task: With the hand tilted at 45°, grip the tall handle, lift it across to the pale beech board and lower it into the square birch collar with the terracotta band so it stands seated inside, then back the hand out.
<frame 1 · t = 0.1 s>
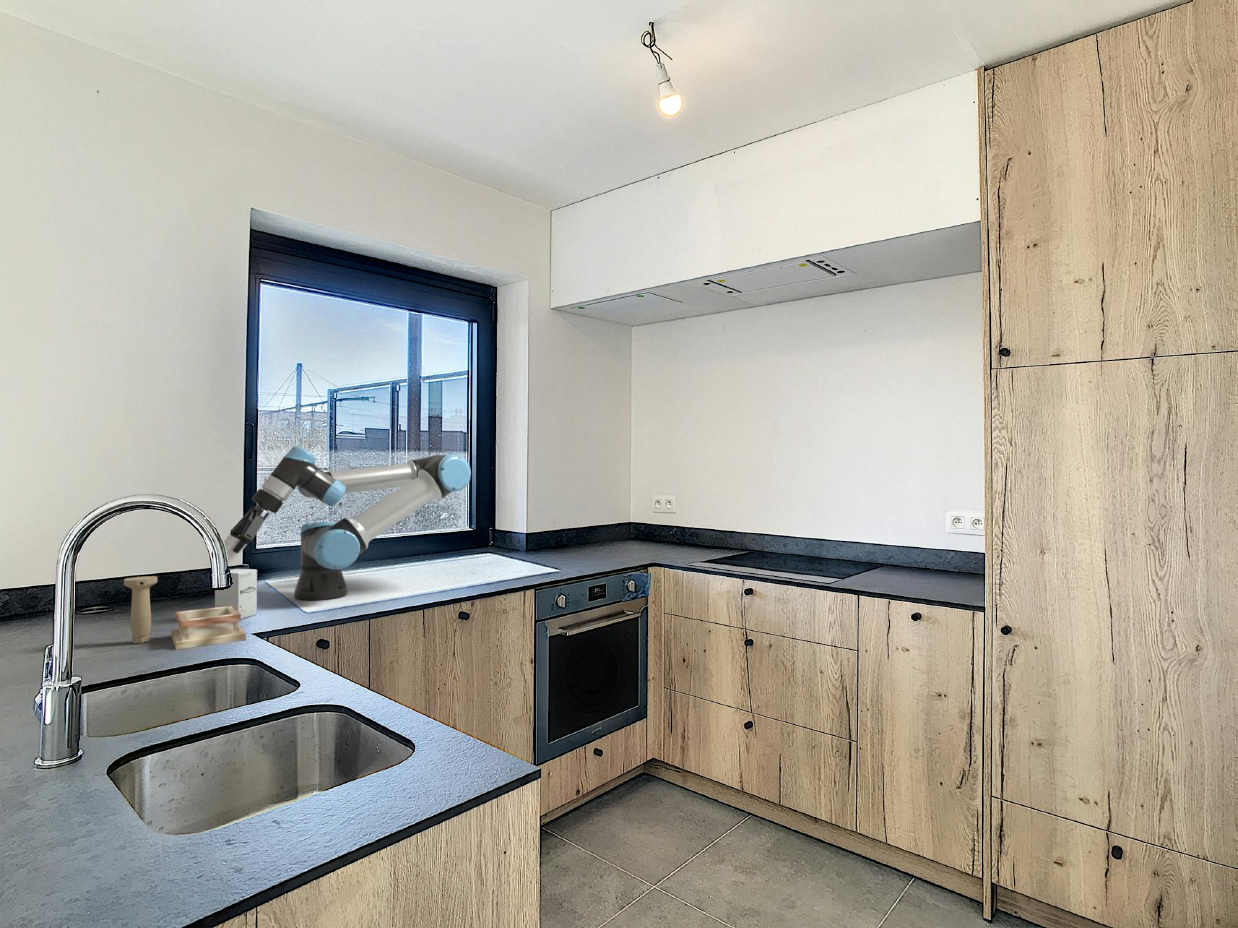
hand: (222, 559, 189), 15 cm above the counter, tool tilted 35°, fingers open, 13 cm apart
handle: (140, 643, 162), on the counter
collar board: (207, 638, 166), on the counter
supplement box: (236, 617, 188), on the counter
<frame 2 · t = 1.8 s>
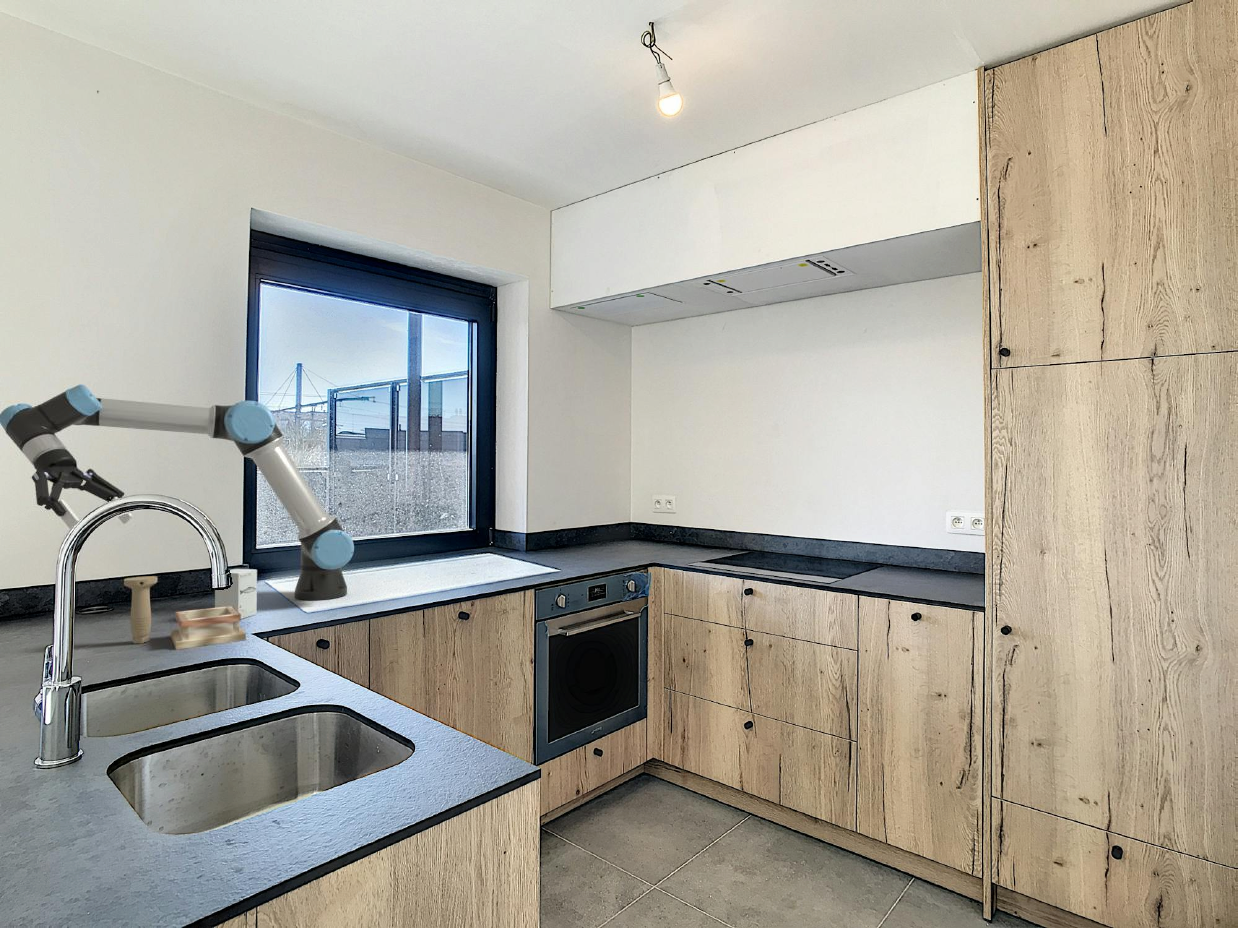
hand: (102, 522, 164), 28 cm above the counter, tool tilted 45°, fingers open, 13 cm apart
nothing on the counter moved.
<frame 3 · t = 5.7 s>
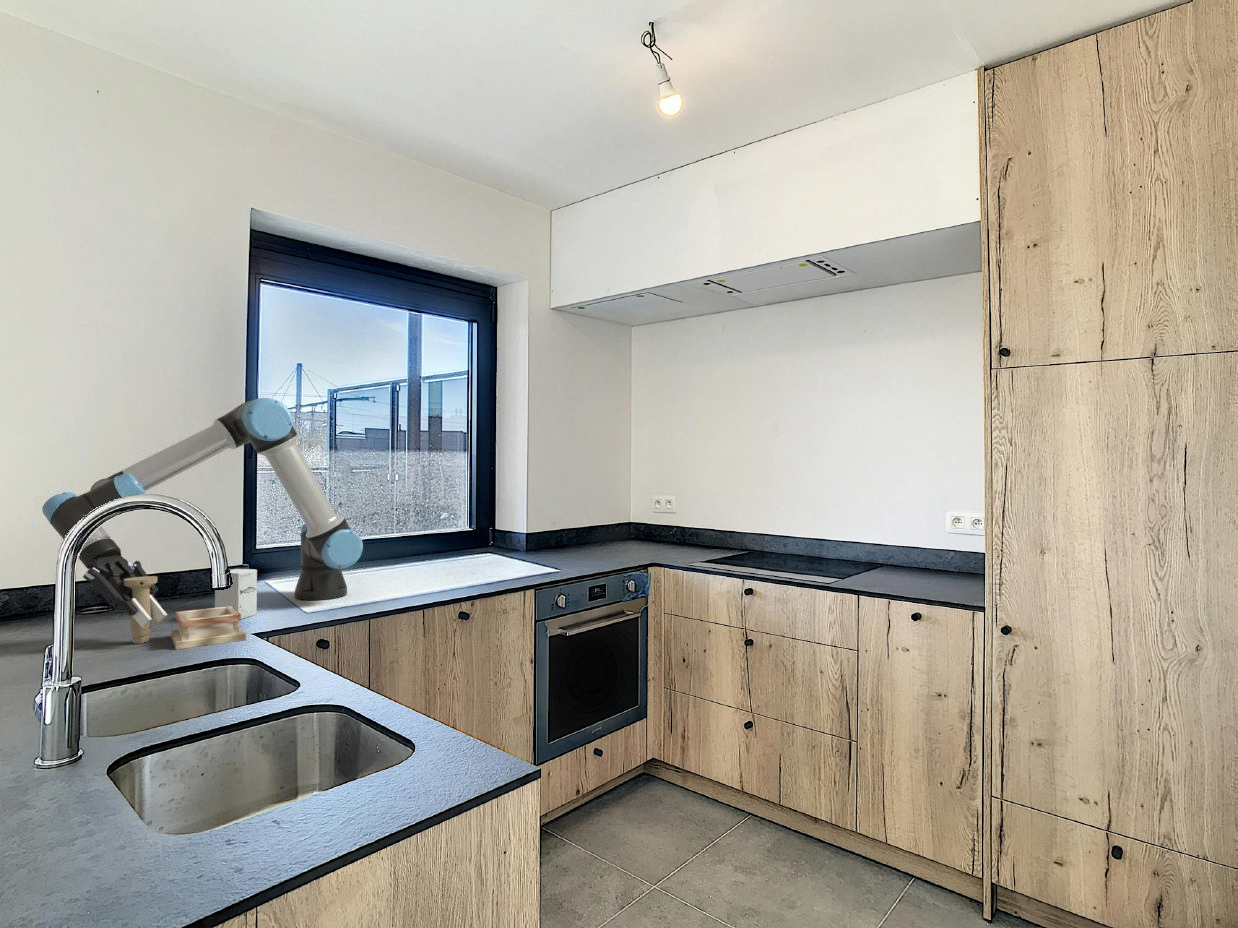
hand: (154, 620, 161), 5 cm above the counter, tool tilted 45°, fingers closed on handle, 4 cm apart
handle: (140, 643, 162), on the counter, touching gripper
everything else where it was.
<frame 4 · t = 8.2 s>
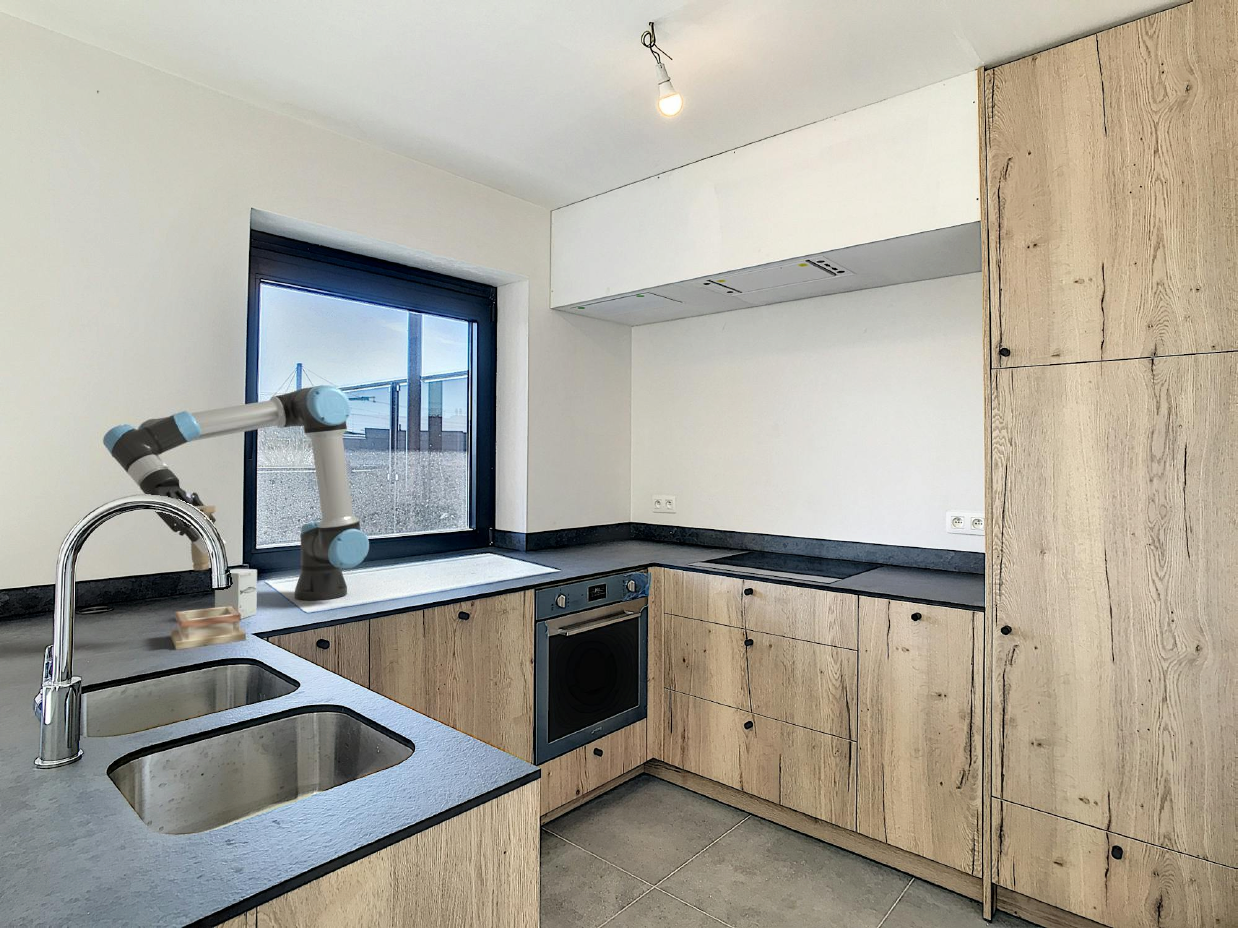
hand: (214, 548, 164), 22 cm above the counter, tool tilted 45°, fingers closed on handle, 4 cm apart
handle: (201, 570, 165), point 16 cm above the counter, touching gripper
everything else where it was.
when the fingers open (8 cm above the counter, at t = 10.7 s): handle drops 1 cm, resting on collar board.
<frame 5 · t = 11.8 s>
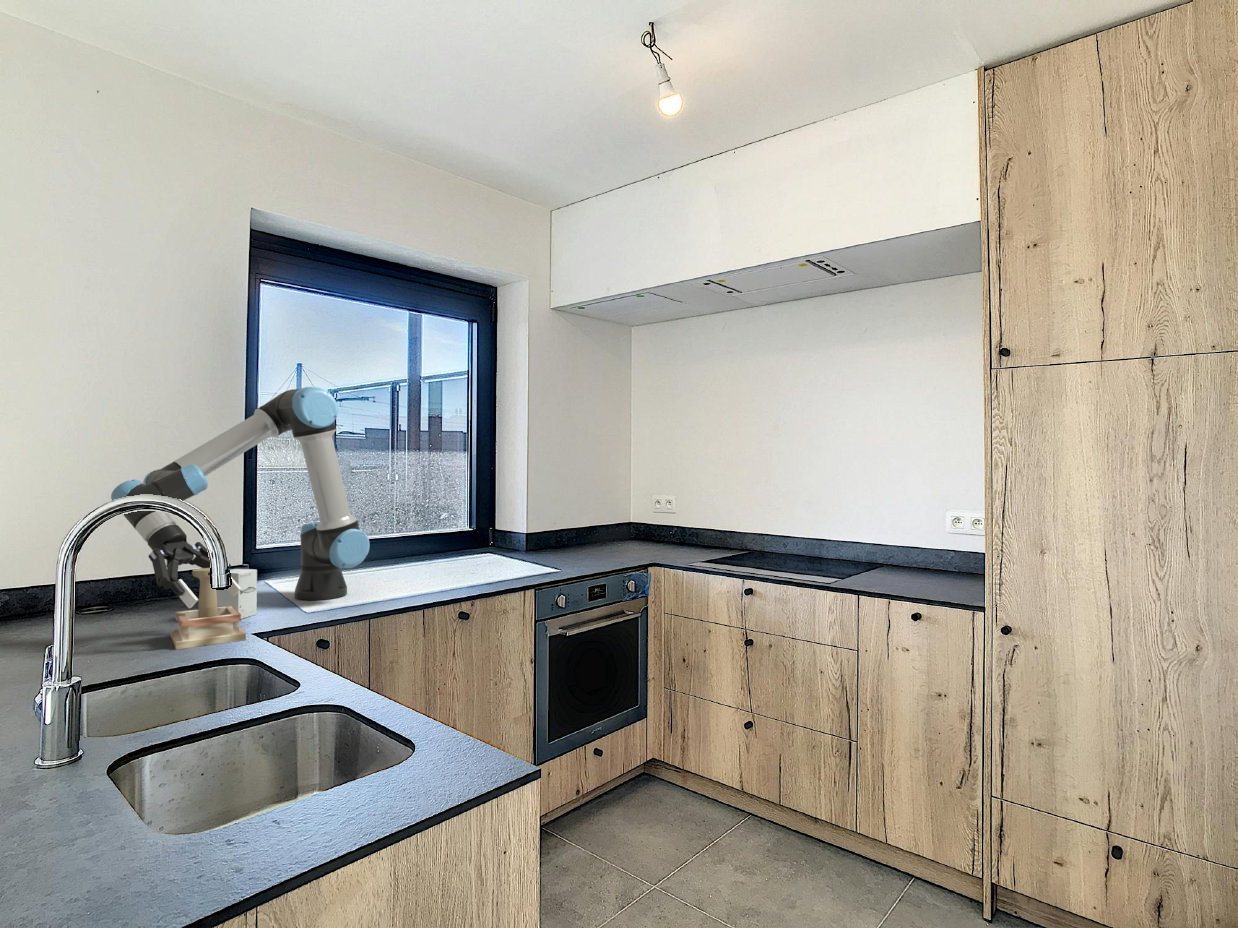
hand: (216, 598, 165), 10 cm above the counter, tool tilted 45°, fingers open, 13 cm apart
handle: (207, 632, 166), point 1 cm above the counter, touching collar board
everything else where it was.
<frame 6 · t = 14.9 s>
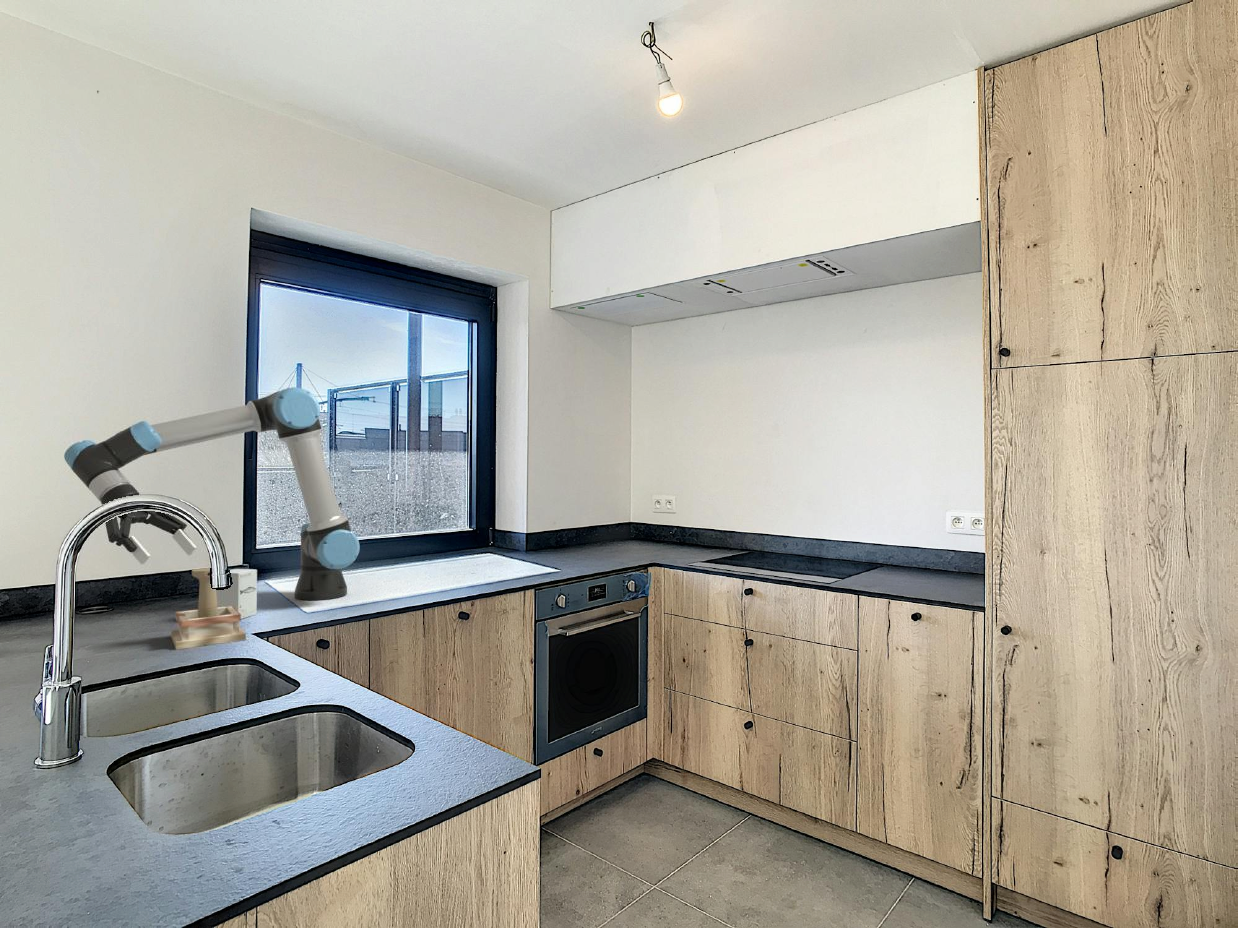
hand: (170, 555, 167), 20 cm above the counter, tool tilted 45°, fingers open, 13 cm apart
nothing on the counter moved.
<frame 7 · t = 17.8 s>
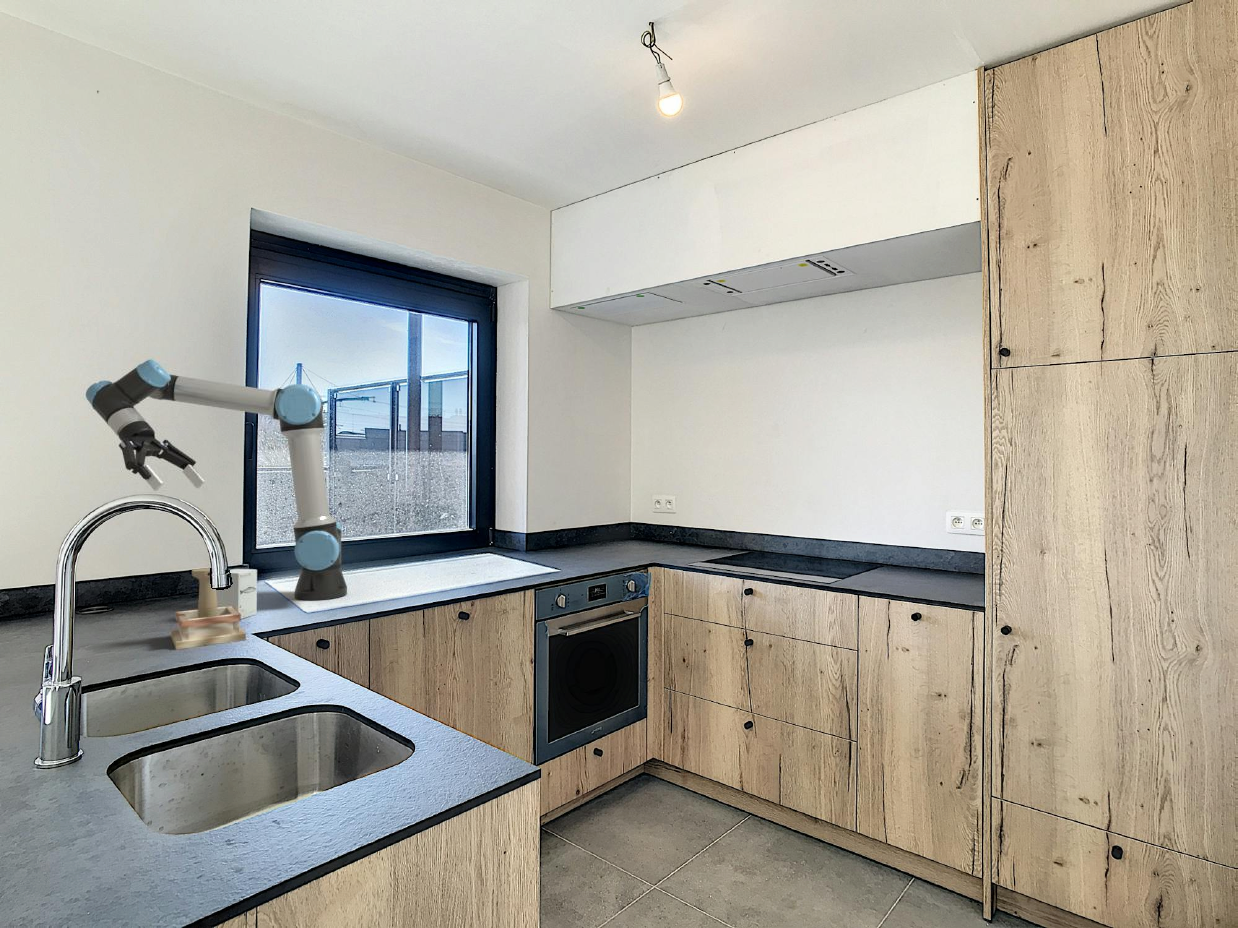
hand: (180, 486, 183), 36 cm above the counter, tool tilted 45°, fingers open, 13 cm apart
nothing on the counter moved.
at the end: handle 0.1 cm off-centre on the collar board, point 1.3 cm above the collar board's base; handle tilted 0°; the gripper is holding nothing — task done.
